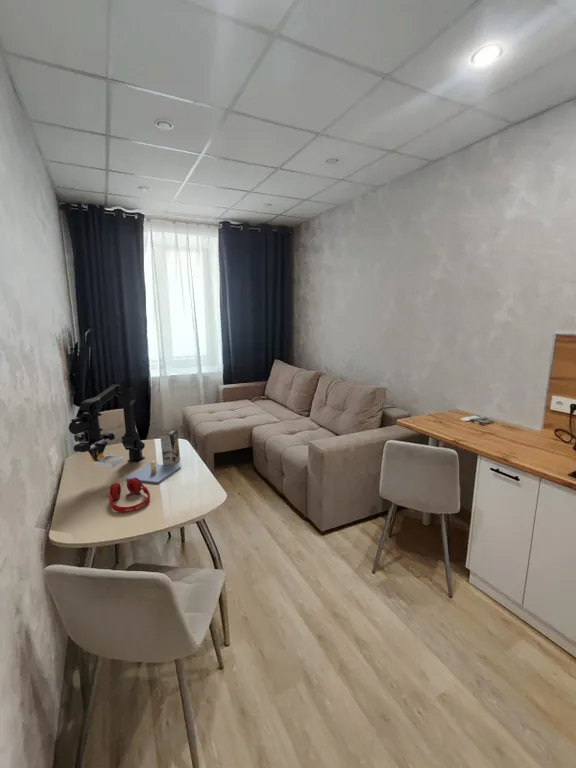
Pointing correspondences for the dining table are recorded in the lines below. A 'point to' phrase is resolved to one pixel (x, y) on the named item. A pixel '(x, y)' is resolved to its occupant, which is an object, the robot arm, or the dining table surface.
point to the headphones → (134, 488)
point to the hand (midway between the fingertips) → (97, 459)
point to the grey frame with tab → (102, 459)
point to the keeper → (154, 473)
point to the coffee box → (170, 447)
